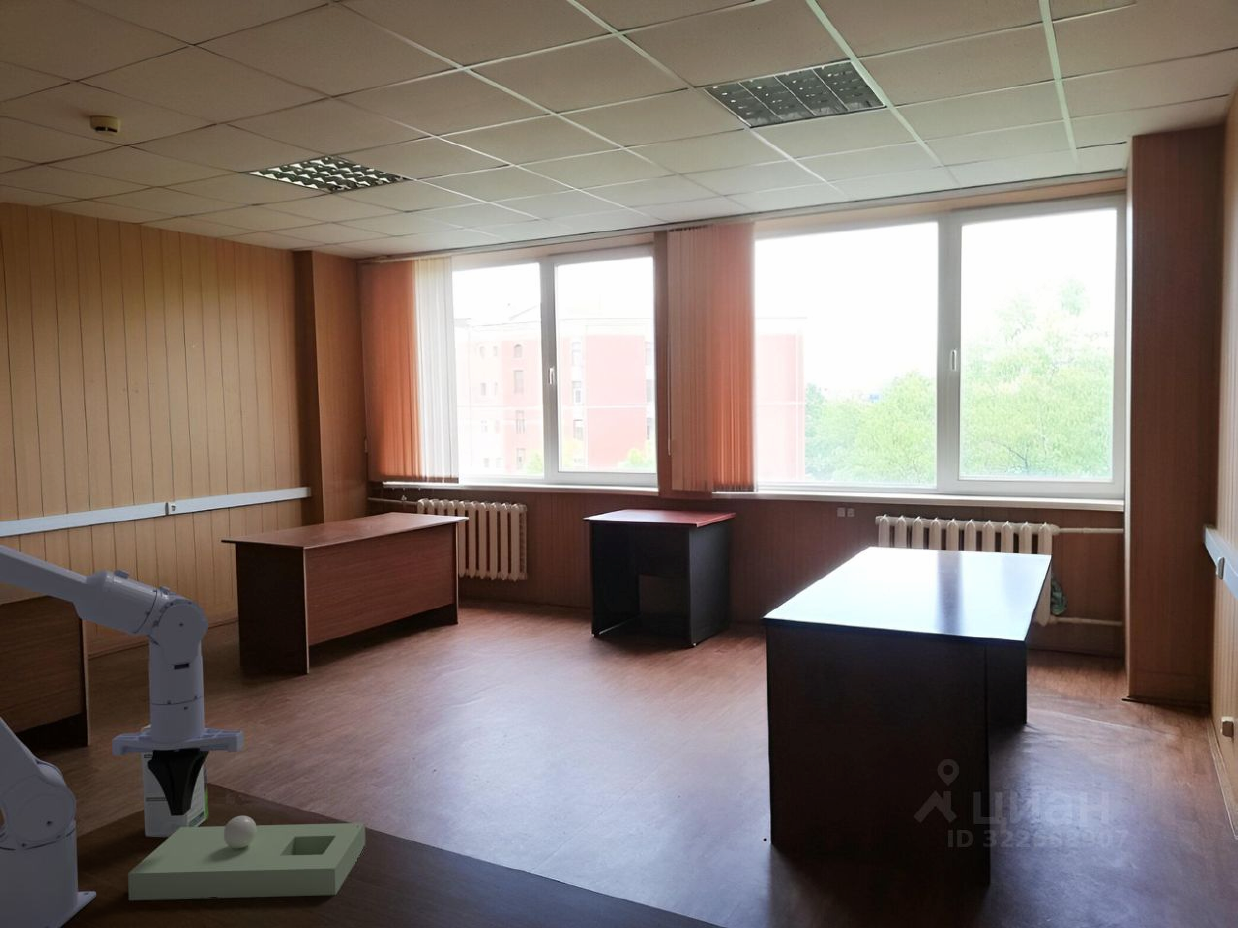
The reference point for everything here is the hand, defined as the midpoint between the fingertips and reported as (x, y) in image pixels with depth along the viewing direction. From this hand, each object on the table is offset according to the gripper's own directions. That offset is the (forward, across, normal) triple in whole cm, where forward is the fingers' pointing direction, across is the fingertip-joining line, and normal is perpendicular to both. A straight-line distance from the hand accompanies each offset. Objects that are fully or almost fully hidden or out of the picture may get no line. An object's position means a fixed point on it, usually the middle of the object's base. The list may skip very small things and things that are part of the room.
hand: (180, 812), depth 104 cm
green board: (+7, -8, 0) cm, 11 cm away
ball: (+2, -7, 0) cm, 7 cm away
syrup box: (+8, +7, -13) cm, 17 cm away
